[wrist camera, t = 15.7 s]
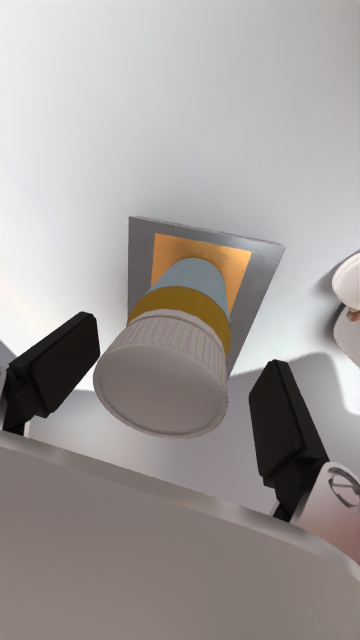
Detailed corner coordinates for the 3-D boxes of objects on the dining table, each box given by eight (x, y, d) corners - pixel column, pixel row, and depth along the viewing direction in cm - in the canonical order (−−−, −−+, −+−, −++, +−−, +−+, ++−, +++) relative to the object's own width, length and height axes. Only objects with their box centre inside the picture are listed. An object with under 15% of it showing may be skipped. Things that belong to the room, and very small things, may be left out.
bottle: (155, 296, 22) (71, 404, 10) (181, 242, 19) (105, 300, 6) (203, 323, 23) (186, 458, 10) (238, 276, 19) (278, 394, 7)
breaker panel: (277, 243, 20) (288, 248, 17) (222, 377, 31) (222, 395, 28) (139, 216, 21) (125, 216, 18) (134, 355, 33) (125, 370, 29)
